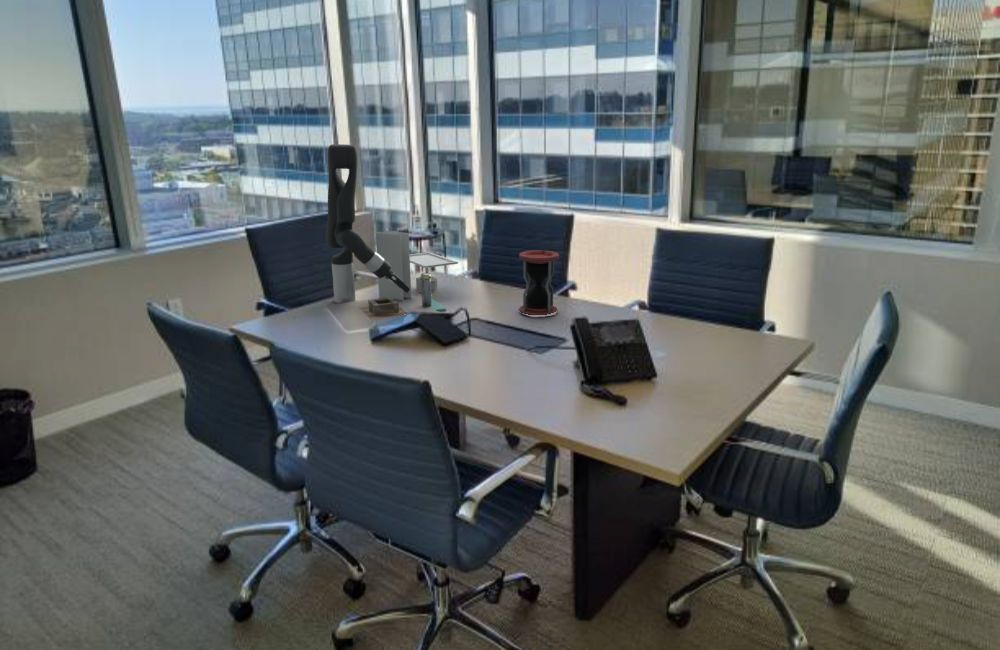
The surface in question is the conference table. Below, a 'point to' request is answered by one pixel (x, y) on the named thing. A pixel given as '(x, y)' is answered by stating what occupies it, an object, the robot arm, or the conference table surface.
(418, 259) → the solar panel model
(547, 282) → the hourglass
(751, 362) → the conference table surface
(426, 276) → the steel peg
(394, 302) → the eye block
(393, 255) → the tall grey pillar
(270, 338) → the conference table surface
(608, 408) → the conference table surface
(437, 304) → the rubber mat
